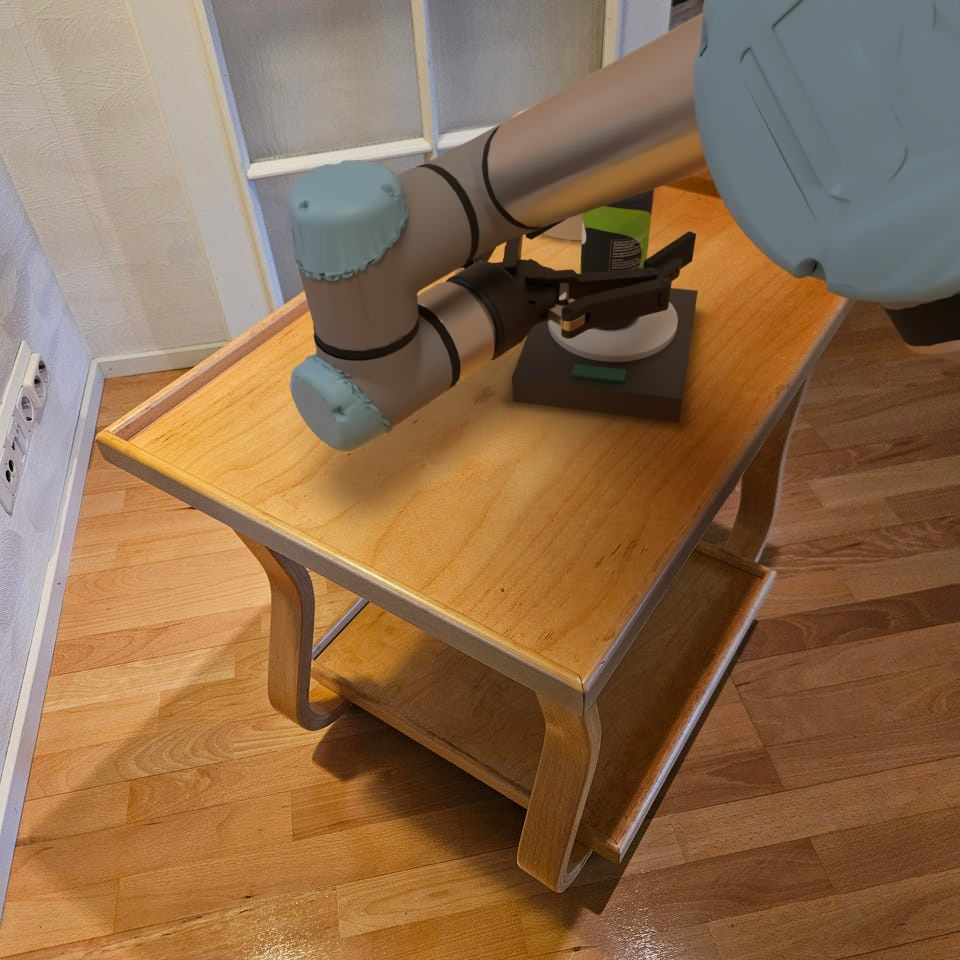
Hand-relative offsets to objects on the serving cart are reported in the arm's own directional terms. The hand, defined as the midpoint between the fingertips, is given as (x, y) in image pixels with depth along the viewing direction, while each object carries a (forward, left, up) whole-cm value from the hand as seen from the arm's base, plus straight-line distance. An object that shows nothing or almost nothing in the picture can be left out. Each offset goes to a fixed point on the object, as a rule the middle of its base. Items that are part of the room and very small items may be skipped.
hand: (629, 221), depth 77 cm
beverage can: (+1, +1, -10) cm, 10 cm away
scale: (+1, +3, -14) cm, 14 cm away
